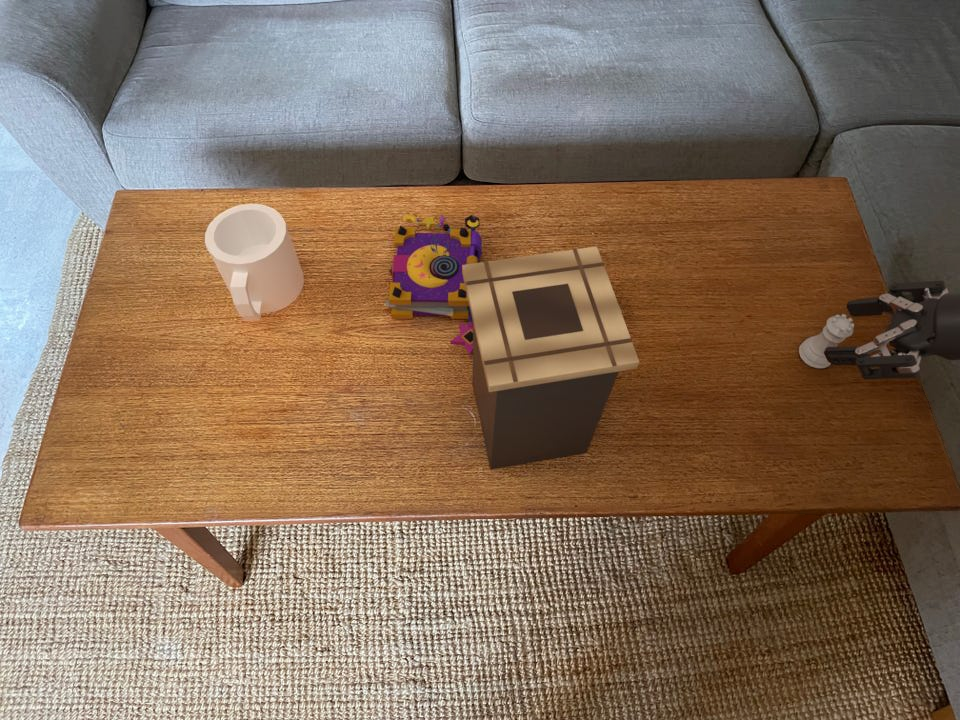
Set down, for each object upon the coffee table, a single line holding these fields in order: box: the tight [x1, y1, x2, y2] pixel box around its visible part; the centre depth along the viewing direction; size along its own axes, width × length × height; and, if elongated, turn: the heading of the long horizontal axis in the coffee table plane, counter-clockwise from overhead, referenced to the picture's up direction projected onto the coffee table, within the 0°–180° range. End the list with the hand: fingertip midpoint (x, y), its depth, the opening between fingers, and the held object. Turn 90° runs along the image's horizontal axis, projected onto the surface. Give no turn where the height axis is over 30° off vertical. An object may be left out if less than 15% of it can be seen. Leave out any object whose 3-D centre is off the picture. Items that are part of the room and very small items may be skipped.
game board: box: [462, 246, 640, 392], centre depth 62 cm, size 14×14×1 cm
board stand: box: [472, 323, 620, 470], centre depth 72 cm, size 12×12×22 cm
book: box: [382, 214, 483, 358], centre depth 87 cm, size 15×25×12 cm, turn 179°
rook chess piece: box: [798, 313, 855, 369], centre depth 84 cm, size 4×4×8 cm
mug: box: [204, 203, 305, 322], centre depth 86 cm, size 14×10×11 cm
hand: (838, 331), depth 82 cm, fingers open, 8 cm apart
